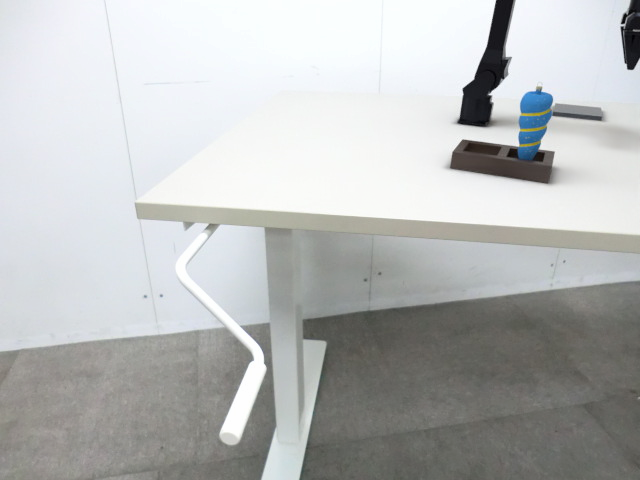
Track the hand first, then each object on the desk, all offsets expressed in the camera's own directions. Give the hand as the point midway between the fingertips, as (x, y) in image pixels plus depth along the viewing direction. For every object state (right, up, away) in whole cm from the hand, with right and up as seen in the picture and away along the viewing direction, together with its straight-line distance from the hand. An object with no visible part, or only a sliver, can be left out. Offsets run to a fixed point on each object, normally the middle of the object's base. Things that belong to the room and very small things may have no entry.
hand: (628, 66), depth 96 cm
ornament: (-26, -23, -12) cm, 37 cm away
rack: (-30, -22, -11) cm, 38 cm away
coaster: (+4, -2, +27) cm, 27 cm away
